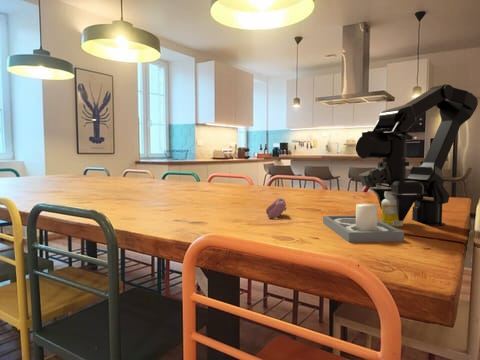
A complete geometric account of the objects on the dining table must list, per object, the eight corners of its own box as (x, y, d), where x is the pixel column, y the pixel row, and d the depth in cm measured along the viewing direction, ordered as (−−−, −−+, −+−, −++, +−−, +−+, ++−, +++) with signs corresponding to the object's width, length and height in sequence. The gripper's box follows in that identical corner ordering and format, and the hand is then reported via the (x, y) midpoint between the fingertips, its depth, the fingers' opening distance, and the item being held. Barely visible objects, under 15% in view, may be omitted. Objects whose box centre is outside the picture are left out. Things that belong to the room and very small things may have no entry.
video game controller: (280, 224, 105) (290, 203, 104) (266, 217, 105) (277, 197, 104) (276, 218, 115) (286, 199, 114) (264, 212, 115) (274, 193, 114)
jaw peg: (371, 232, 81) (372, 203, 81) (380, 237, 77) (381, 206, 76) (352, 233, 81) (353, 203, 80) (360, 238, 76) (360, 206, 76)
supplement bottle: (399, 231, 87) (400, 193, 86) (377, 228, 90) (378, 192, 90) (405, 227, 91) (406, 191, 90) (384, 225, 94) (385, 190, 94)
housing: (366, 226, 94) (366, 215, 93) (403, 245, 74) (404, 231, 73) (323, 226, 93) (323, 215, 93) (348, 246, 73) (348, 232, 73)
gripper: (350, 157, 98) (349, 211, 100) (378, 159, 80) (377, 225, 81) (388, 157, 99) (387, 211, 100) (425, 158, 80) (423, 224, 81)
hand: (392, 217), depth 90 cm, fingers open, 9 cm apart
